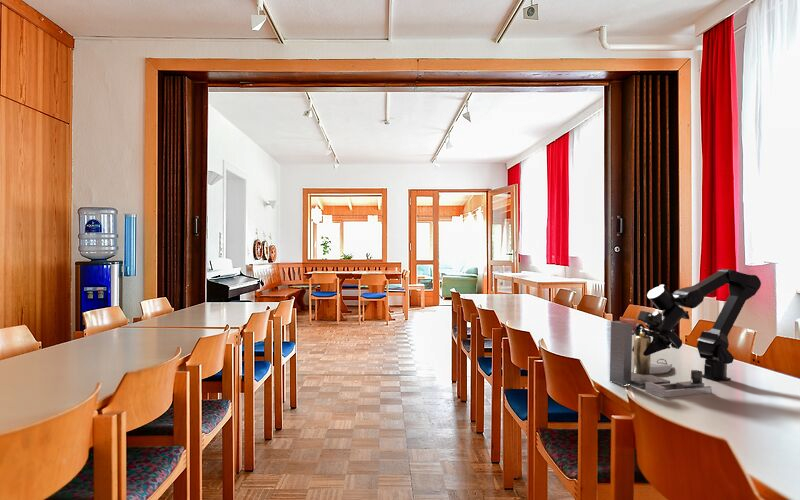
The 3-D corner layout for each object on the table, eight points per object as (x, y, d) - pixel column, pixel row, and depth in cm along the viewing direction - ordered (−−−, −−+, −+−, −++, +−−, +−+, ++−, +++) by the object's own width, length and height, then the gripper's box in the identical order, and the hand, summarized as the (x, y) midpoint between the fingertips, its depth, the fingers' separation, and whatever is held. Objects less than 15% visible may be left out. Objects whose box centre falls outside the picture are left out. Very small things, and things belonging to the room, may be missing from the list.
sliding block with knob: (695, 388, 150) (696, 369, 150) (704, 391, 148) (704, 372, 148) (676, 390, 148) (676, 371, 148) (684, 393, 145) (685, 373, 145)
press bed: (640, 375, 164) (642, 315, 164) (670, 385, 153) (671, 321, 153) (603, 378, 160) (604, 316, 159) (630, 389, 148) (632, 322, 148)
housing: (649, 372, 158) (650, 331, 158) (650, 375, 154) (651, 334, 153) (633, 370, 160) (633, 330, 160) (633, 373, 156) (634, 332, 156)
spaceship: (650, 378, 161) (650, 365, 161) (632, 373, 167) (632, 361, 167) (683, 369, 175) (683, 357, 175) (665, 365, 180) (665, 353, 180)
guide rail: (693, 386, 152) (693, 377, 152) (711, 392, 146) (711, 383, 146) (645, 391, 146) (645, 381, 146) (662, 397, 140) (662, 387, 140)
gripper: (634, 299, 167) (605, 331, 165) (675, 306, 148) (643, 342, 146) (653, 321, 168) (625, 353, 166) (696, 330, 150) (665, 366, 148)
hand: (638, 353), depth 157 cm, fingers closed on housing, 5 cm apart
